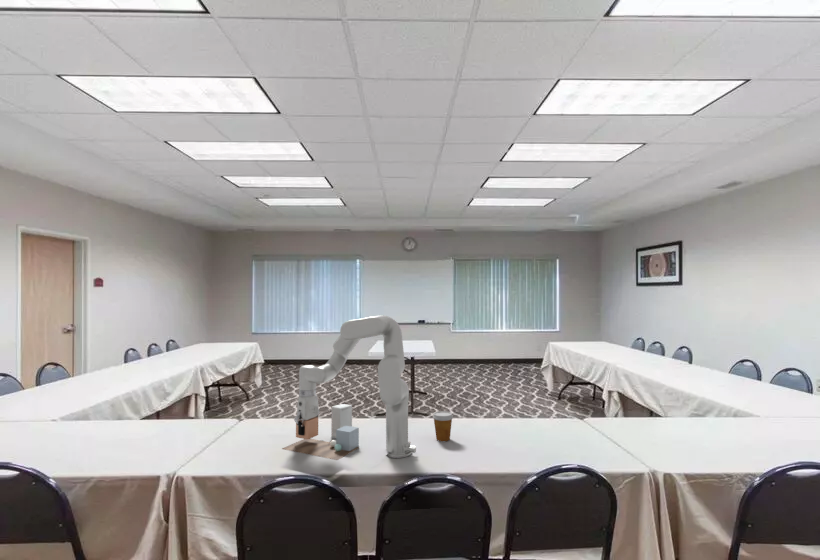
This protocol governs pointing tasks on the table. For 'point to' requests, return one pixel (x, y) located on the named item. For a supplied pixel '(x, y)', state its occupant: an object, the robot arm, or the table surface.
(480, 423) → the table surface
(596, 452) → the table surface
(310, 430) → the peach cube block
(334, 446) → the marble ivory
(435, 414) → the disposable coffee cup
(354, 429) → the pale blue cube
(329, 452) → the walnut board
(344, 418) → the skincare box
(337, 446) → the marble teal
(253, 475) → the table surface
